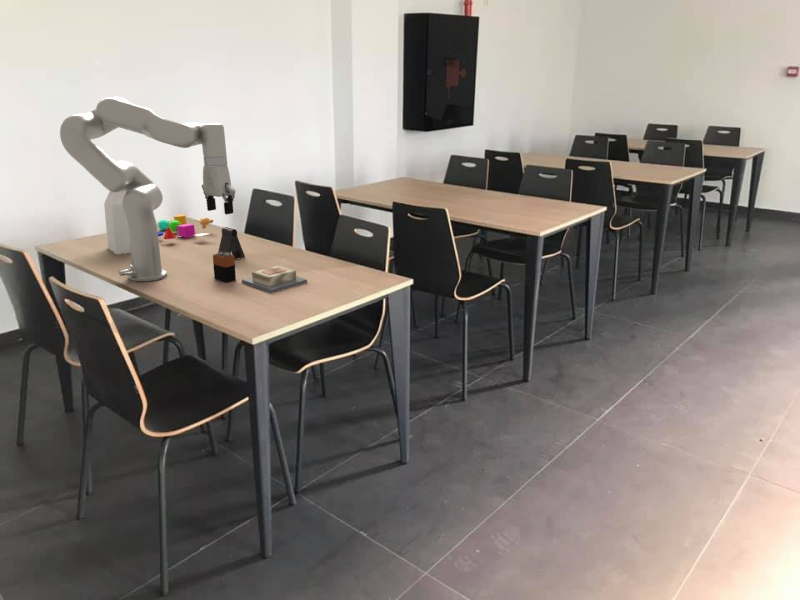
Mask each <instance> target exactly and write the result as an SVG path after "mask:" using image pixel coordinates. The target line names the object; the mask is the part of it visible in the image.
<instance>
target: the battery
mask: <svg viewBox="0 0 800 600" xmlns="http://www.w3.org/2000/svg"><path fill="white" fill-rule="evenodd" d="M235 260H236V259H234V255H232V254H231V255H230V253H222V252H221V251H220V252H218V251H217V253H215V254H212V263H213V264H212V265H213V278H214V280H217V281H219V280H220V282H224V283H230V282H233V281H236V280H237V277H236V261H235Z"/></svg>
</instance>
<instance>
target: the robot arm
mask: <svg viewBox="0 0 800 600" xmlns="http://www.w3.org/2000/svg"><path fill="white" fill-rule="evenodd" d="M118 128H119V129H124V130H127V131H130V132H134V133H137V134H140V135H144V136H145V137H147V138H150V139H152V140H155V141H157V142H160V143H163V144H165V145H170V146H172V147H173V146H174V147H177V148H181V149H182V148H183V149H187V148H191V147H195V146H197V145H201V148H202V154H203V155H202V157H203V167H202V184H201V188H202V191H203V195H204V198H205V200H206V207H207V212H211V211H215V210H217V204H216V198H220V197H222V199H223V201H224V202H223V209H224V210H223V211H224V214H225V215H230V214H231V215H232V214H234V201H235V200H234V199H235V197H236V196H235V195H236V189H234V187H233V186H232V181H231V176H230V171H229V167H228V157H227V146H226V135H225V127H224V125H223V124H222V123H219V122H207V123H201V122H194V121H193V122H192V121H191V122H189V121H188V122H185V123H184V122H183V123H180V122H176V121H173V120H169V119H167V118H163V117H161V116H159V115H157V114H156V113H155V112H154V111H153V110H152V109H151V108H147V107H144V106H140V105H137V104H134V103H131V102H130V101H129V100H127V99H126V98H123V97H120V96H114V97H113V96H112V97H106V98H103V99H101V100H100V101H98V103H97V104H96V107H95V109H93V110H92V111H89V112H87V113H86V112H85V113H77V114H72V115H70V116H67V117H66V118H65V119H64V120H62V123H61V126H60V128H59V129H60V131H59V138H60V141H61V143H62V146H63V148H64V149H65V151H66V152H67V154H69V155H70V157H71V158H73V160H75V161H76V162H77V163H78V164H79V165H80V166H82V167H83V168H84V169H85V170H86V171H87V172H88V173H89V174H90V175H91V176H92V177H93V178H95V180H97V182H98V183H100V184H101V185H102V186H103V187H104V188H105V189H106V190H108V191H109V192H110V191H112V192H119V191H123V190H124V191H125V192H126V194H125V195H124V197H123V201H122V206H123V211H124V214H125V217H126V222H127V228H128V235H129V243H130V251H131V253H130V257H131V259H130V260H131V264H130V265H129V266H128V268H127V269H123V270H122V269H121V270H119V271H118V274H119V277H122V276H123V277H125V276H127V277H128V279H129V280H130V281H135V282H153V281H158V280H162V279H164V278H165V277H167V274H168V273H167V270H165V269H162V268H163V267H162V259H161V252H160V241H159V237H158V232H159V231H158V223H157V220H156V217H155V214H154V211H155V210H156V209H158V208H159V207H160V206H161V204H162V203H163V199H164V198H163V193H162V191H161V189H160V188H159V186H158V185H157V184H156V183H154V182H153V180H151V179H150V177H148V176H147V175H146V174H145V173H144V172H143V171H142V170H141V169H139V167H137V166H136V165H134V163H132V162H129V161H126V160H118V161H116V160H114V159H113V158H112V157H111V156H109V155H108V153H107V152H106V151H105V150H104V149H102V148H101V147H99V146H98V145H96V144H95V143H94V142H93V141H91V140H96V139H98V138H101V137H104V136H105V135H107V134H109V133H110V132H113V131H114V130H116V129H118ZM215 197H216V198H215Z"/></svg>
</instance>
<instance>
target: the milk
mask: <svg viewBox="0 0 800 600" xmlns="http://www.w3.org/2000/svg"><path fill="white" fill-rule="evenodd" d="M125 194H126V192H125V191H124V190H123V191H119V192H112V191H109V193H108V194H107V196H106V199H105V201H104V204H103V205H104V216H105V217H104V219H105V227H106V230H105V231H106V240H107V249H108V248H109V249H108V250H109V251H111V252H112V251H113V252H112V253H114V254H115V255H121V254H122V253H124V254H129V252H131V251H130V243H129V235H128V228H127V222H126V217H125V214H124V211H123V206H122V201H123V197H124V195H125ZM122 255H123V254H122Z"/></svg>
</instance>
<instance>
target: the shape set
mask: <svg viewBox="0 0 800 600" xmlns="http://www.w3.org/2000/svg"><path fill="white" fill-rule="evenodd" d="M173 219H174V220H172V221H170V222H169V221H168V220H167V219H160V220H159V221H158V223H157V228H158V229H159V230H161V229H162V230H161V231H158V238H159V237H161V236H163V239H164V240H171V239H172V240H173V239H176V238H177V236H176V235H175V234H174V233H176V232H177V235H178V236H181V237H185V238H184V239H188V238H187V237H189V238H192V237H191V236H194V237H197V236H198V237H202V236H207V235H209V233H205V232H201V233H197V234H196V229H195V224H191V223H188V222H187V215H186V214H177V215H173ZM198 222H199V224H200V225H201V228H202V230H204V229H207V226H209V225H210V224H213V223H214V219H211V218H209V217H203V218H200V220H199V221H198ZM165 229H167V230H165ZM163 231H165V233H164V232H163Z"/></svg>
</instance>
